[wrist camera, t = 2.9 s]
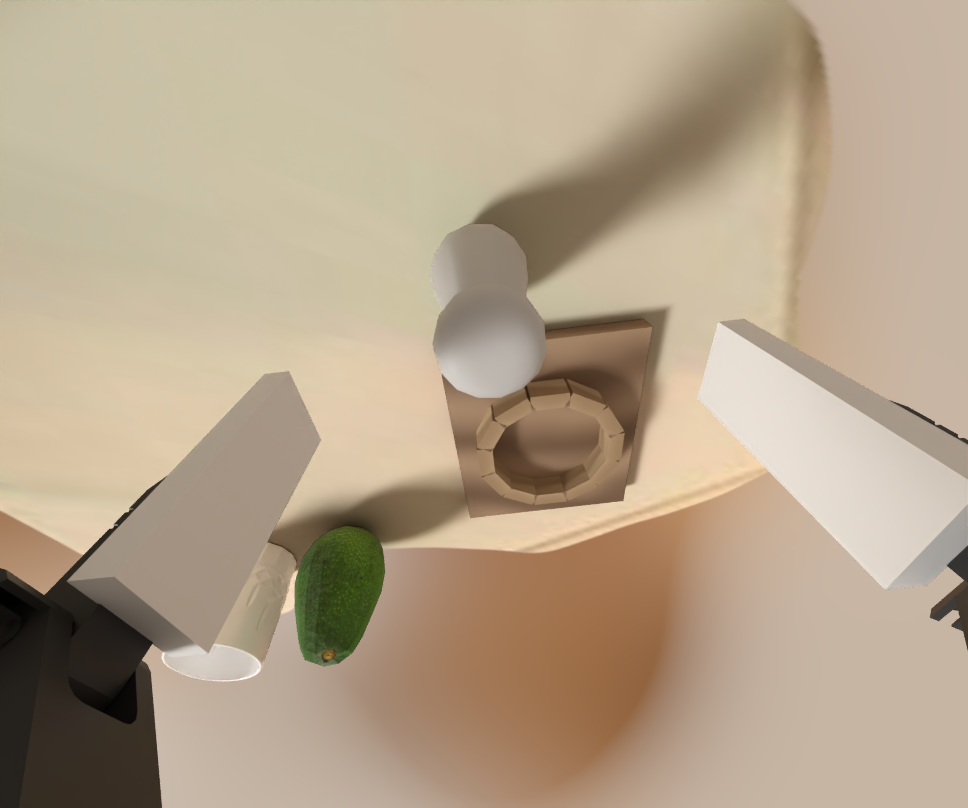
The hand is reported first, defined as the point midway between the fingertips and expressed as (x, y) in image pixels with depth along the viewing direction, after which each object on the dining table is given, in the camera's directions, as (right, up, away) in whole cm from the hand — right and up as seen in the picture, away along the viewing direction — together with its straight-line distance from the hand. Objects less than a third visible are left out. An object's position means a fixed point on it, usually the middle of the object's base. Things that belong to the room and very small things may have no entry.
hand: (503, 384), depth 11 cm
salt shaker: (-1, +8, +12) cm, 15 cm away
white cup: (-25, -18, +28) cm, 42 cm away
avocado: (-14, -14, +26) cm, 33 cm away
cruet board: (+4, -3, +20) cm, 20 cm away
